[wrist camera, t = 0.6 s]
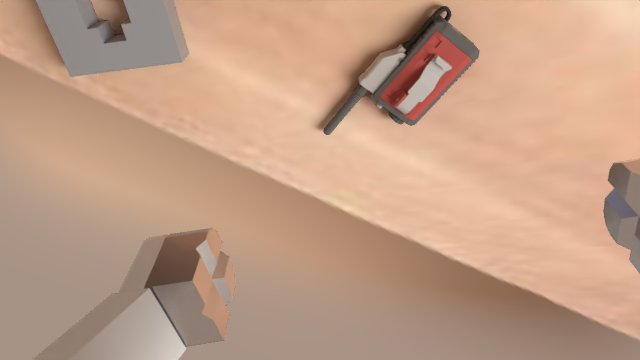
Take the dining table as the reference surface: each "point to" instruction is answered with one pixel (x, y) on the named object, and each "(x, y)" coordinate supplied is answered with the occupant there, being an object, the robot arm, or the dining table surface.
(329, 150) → the dining table surface
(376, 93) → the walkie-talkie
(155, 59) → the chassis deck
